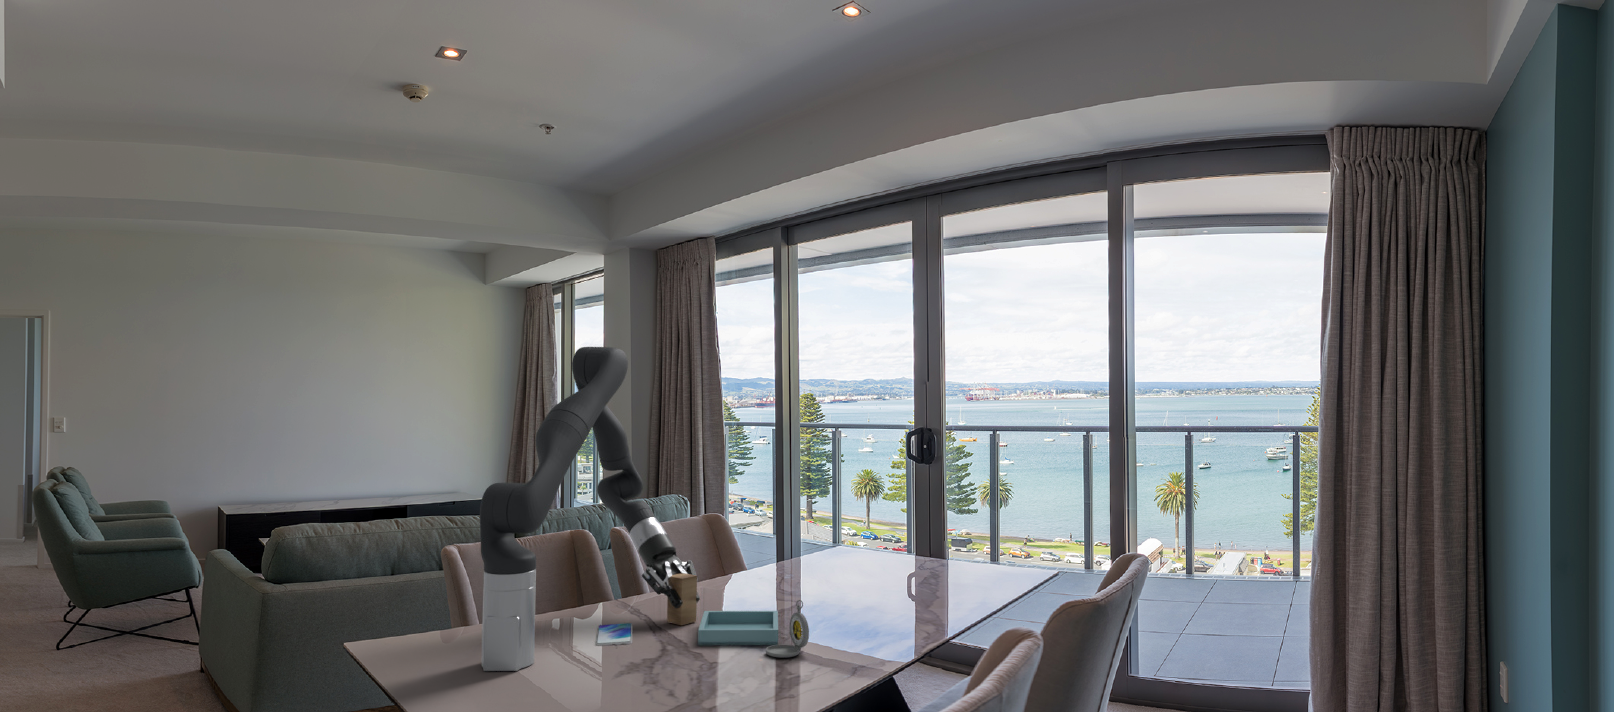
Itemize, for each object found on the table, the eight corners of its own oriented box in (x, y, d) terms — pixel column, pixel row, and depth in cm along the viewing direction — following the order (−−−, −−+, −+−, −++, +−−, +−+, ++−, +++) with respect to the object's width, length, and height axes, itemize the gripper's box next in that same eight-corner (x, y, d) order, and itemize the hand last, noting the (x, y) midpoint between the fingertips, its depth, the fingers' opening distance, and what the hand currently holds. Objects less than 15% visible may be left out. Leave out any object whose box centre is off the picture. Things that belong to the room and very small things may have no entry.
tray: (778, 644, 176) (778, 629, 176) (698, 645, 175) (698, 630, 175) (777, 624, 192) (777, 610, 192) (704, 624, 191) (704, 610, 191)
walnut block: (667, 621, 193) (667, 575, 193) (682, 618, 196) (682, 572, 197) (681, 625, 190) (681, 578, 190) (696, 621, 193) (697, 575, 194)
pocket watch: (759, 656, 168) (759, 603, 169) (780, 645, 176) (781, 595, 176) (796, 662, 164) (797, 608, 165) (817, 651, 172) (817, 599, 172)
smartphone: (595, 643, 175) (598, 624, 189) (595, 648, 175) (598, 628, 189) (632, 641, 176) (632, 622, 191) (632, 645, 176) (632, 626, 191)
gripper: (635, 535, 193) (672, 599, 185) (683, 528, 204) (720, 588, 196) (619, 557, 196) (655, 620, 188) (667, 549, 207) (702, 608, 199)
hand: (688, 603), depth 192 cm, fingers closed on walnut block, 4 cm apart
